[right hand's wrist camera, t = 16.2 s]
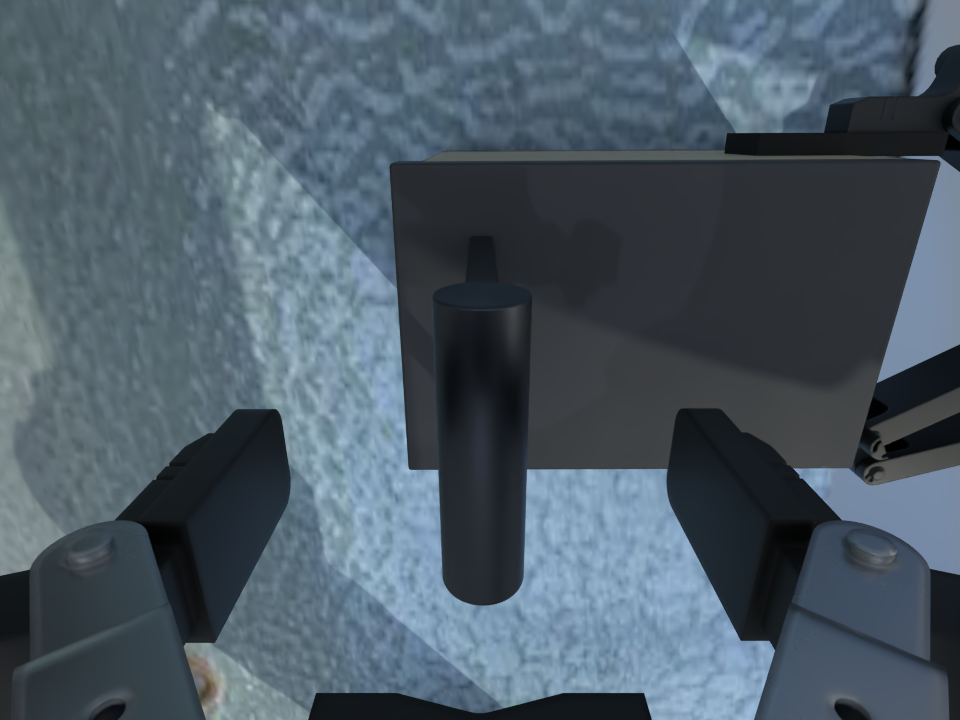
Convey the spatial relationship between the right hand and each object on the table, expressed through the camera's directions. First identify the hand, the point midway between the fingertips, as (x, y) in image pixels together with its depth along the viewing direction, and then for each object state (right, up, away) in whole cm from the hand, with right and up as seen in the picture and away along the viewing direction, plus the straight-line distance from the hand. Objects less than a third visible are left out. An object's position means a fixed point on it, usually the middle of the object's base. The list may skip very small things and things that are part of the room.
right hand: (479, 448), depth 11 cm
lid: (+5, +3, +7) cm, 10 cm away
